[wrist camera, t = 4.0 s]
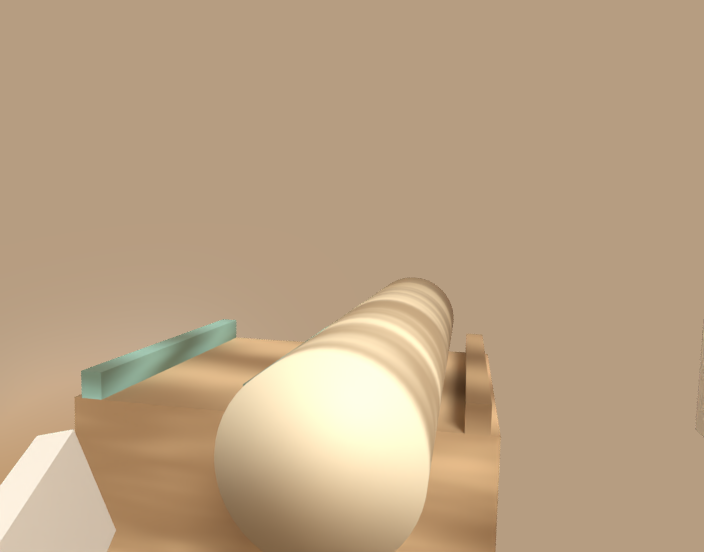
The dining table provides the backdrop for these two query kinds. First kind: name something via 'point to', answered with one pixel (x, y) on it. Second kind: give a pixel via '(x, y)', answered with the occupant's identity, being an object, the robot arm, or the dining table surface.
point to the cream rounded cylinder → (341, 429)
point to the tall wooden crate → (201, 430)
